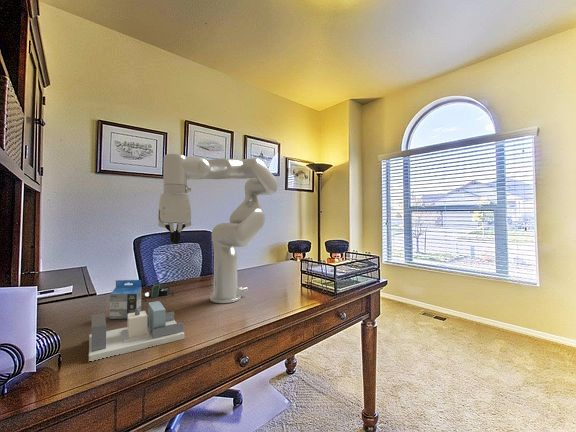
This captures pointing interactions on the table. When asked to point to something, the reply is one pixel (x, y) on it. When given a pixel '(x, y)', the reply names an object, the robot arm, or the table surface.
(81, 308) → the table surface
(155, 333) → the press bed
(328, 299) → the table surface
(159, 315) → the block
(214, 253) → the robot arm
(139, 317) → the block
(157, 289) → the dark green piece
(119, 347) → the base
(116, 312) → the label tape box
